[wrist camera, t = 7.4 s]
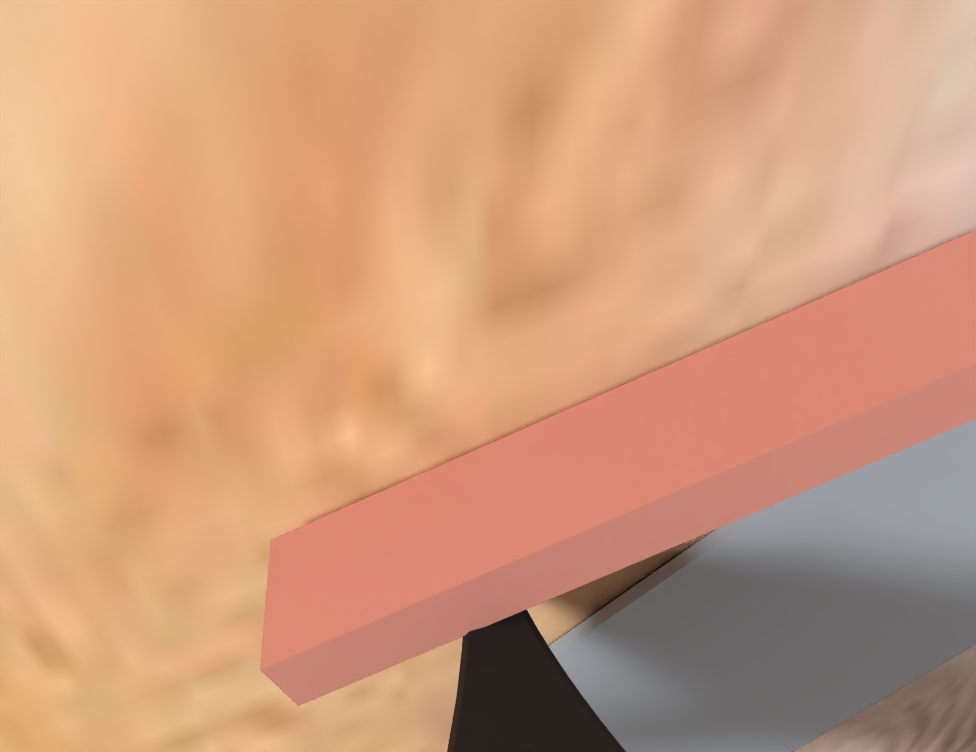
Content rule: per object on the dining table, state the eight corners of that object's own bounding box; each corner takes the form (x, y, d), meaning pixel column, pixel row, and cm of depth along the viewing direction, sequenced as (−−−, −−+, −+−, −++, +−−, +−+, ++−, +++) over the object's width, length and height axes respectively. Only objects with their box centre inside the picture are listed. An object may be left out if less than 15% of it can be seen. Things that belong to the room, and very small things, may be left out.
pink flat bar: (1068, 225, 12) (1261, 309, 10) (309, 557, 13) (305, 712, 10) (1076, 147, 11) (1286, 216, 9) (265, 506, 12) (251, 662, 10)
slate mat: (958, 360, 13) (970, 369, 13) (1069, 572, 18) (1080, 582, 18) (469, 700, 16) (472, 713, 16) (675, 807, 21) (680, 818, 21)
